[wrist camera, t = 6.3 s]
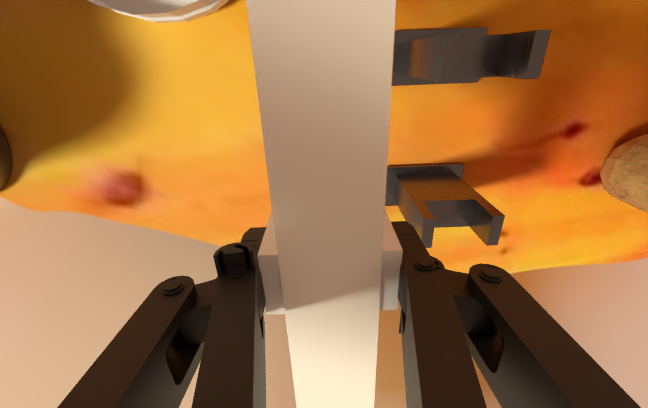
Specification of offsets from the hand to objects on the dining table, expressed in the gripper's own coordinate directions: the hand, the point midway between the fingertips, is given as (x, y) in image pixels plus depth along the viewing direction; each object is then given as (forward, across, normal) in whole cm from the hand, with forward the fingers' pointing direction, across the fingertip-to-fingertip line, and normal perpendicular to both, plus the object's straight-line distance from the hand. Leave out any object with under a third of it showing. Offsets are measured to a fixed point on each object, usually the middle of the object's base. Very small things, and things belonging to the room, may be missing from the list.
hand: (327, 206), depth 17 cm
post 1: (+19, +12, +7) cm, 24 cm away
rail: (-3, 0, 0) cm, 3 cm away
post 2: (+19, +12, -7) cm, 24 cm away
